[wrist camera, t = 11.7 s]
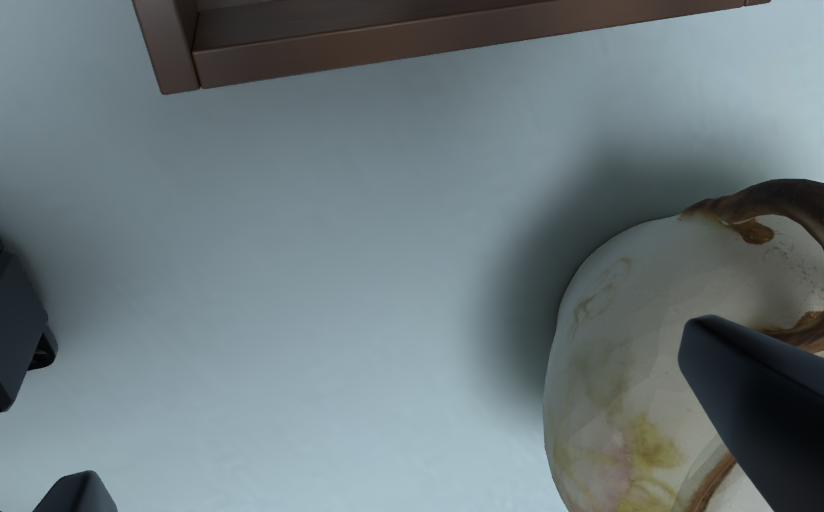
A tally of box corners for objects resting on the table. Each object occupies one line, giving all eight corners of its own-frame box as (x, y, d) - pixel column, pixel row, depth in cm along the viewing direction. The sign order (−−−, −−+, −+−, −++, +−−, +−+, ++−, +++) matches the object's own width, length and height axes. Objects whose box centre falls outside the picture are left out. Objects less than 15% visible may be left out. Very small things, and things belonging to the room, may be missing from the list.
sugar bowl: (429, 168, 20) (734, 600, 8) (816, 12, 21) (1629, 193, 9) (527, 484, 32) (718, 865, 19) (778, 375, 32) (1114, 675, 20)
